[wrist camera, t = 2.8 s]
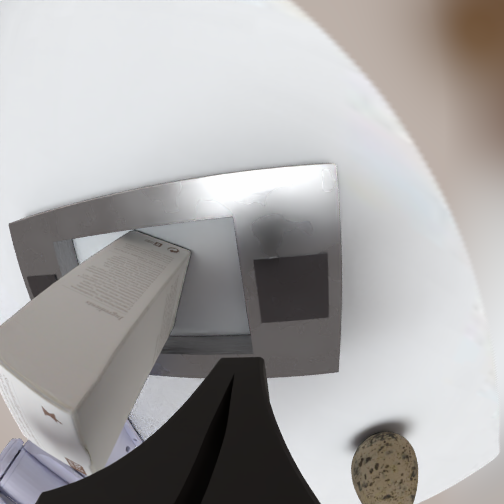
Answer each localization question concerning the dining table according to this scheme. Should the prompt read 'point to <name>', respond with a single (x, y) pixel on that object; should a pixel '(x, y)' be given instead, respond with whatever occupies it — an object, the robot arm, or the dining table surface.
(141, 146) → the dining table surface
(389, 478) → the decorative egg
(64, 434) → the skincare box
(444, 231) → the dining table surface
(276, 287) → the plate
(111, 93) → the dining table surface
